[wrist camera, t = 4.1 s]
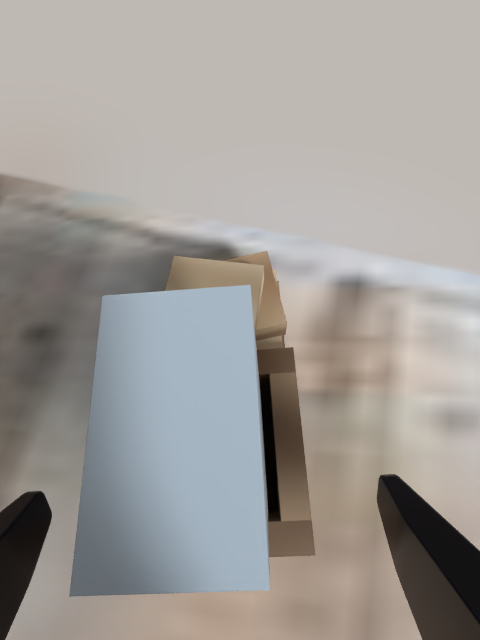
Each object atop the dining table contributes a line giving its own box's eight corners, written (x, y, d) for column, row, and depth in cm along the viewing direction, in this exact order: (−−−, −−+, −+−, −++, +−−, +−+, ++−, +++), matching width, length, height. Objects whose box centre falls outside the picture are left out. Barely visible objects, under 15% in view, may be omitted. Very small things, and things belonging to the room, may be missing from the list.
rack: (305, 537, 17) (315, 555, 14) (173, 542, 17) (151, 561, 14) (281, 288, 22) (283, 258, 19) (178, 295, 22) (163, 267, 19)
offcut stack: (285, 363, 19) (291, 333, 15) (179, 370, 19) (153, 342, 15) (277, 281, 21) (280, 233, 17) (180, 288, 21) (158, 243, 17)
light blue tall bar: (267, 499, 18) (269, 589, 5) (207, 501, 18) (68, 596, 5) (260, 397, 20) (250, 284, 7) (206, 401, 20) (102, 295, 7)
